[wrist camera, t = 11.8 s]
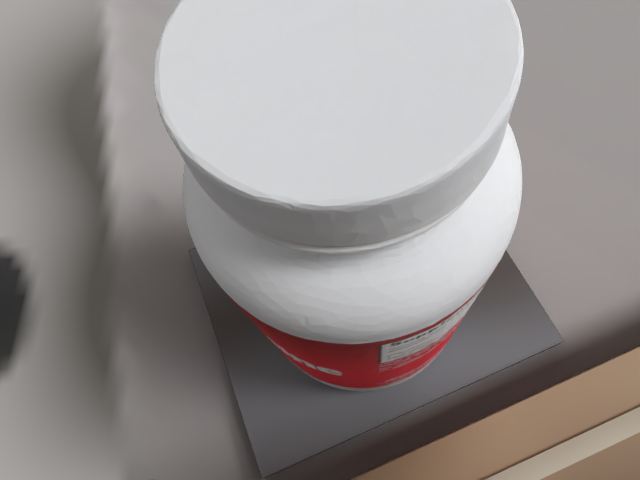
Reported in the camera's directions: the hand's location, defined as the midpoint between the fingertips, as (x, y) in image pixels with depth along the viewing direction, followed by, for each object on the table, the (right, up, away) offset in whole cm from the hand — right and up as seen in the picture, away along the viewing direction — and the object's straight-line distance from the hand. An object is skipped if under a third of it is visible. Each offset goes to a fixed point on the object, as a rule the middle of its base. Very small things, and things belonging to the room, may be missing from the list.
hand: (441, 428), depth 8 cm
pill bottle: (-1, +1, +9) cm, 9 cm away
